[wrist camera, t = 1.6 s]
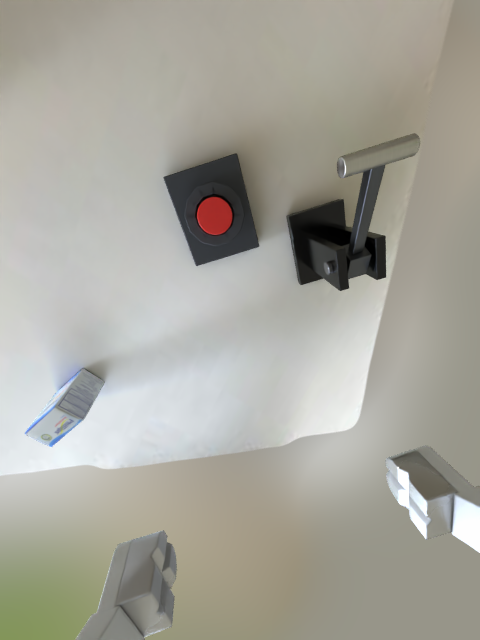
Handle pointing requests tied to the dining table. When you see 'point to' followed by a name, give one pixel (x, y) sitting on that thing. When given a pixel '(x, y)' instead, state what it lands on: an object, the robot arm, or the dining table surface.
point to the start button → (214, 215)
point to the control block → (205, 183)
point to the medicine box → (66, 408)
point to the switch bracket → (329, 245)
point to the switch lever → (370, 191)
